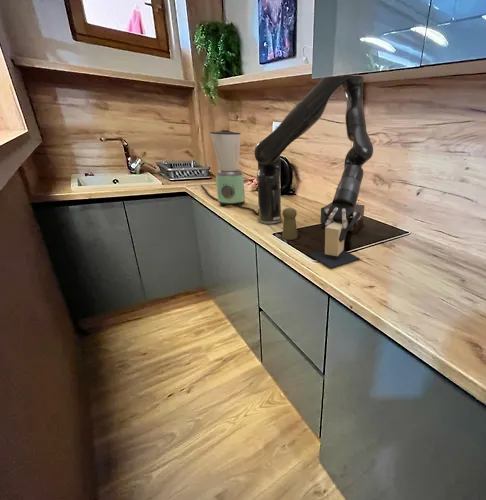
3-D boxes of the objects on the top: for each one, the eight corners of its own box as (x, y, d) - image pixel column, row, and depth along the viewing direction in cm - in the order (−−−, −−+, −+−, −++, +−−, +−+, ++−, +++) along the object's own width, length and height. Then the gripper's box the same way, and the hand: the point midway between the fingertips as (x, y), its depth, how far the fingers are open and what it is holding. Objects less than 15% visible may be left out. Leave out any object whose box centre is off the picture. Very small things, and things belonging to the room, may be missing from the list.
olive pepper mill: (295, 240, 112) (294, 211, 108) (279, 238, 113) (278, 210, 109) (299, 235, 118) (299, 207, 113) (285, 233, 119) (284, 205, 114)
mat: (308, 255, 100) (308, 254, 100) (336, 247, 107) (336, 246, 107) (330, 269, 92) (330, 267, 92) (359, 259, 99) (359, 258, 99)
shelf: (332, 220, 136) (333, 201, 133) (362, 225, 132) (364, 205, 128) (322, 228, 126) (323, 207, 122) (354, 233, 121) (356, 212, 118)
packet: (324, 254, 97) (325, 227, 93) (331, 247, 102) (332, 222, 99) (337, 256, 96) (338, 229, 92) (343, 249, 101) (345, 224, 97)
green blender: (242, 208, 148) (236, 131, 134) (214, 208, 146) (205, 130, 133) (248, 199, 165) (243, 130, 151) (223, 198, 164) (216, 129, 150)
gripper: (369, 202, 102) (356, 248, 96) (329, 197, 106) (315, 240, 101) (366, 189, 95) (352, 238, 90) (324, 184, 100) (308, 230, 94)
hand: (332, 239), depth 95 cm, fingers closed on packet, 4 cm apart
